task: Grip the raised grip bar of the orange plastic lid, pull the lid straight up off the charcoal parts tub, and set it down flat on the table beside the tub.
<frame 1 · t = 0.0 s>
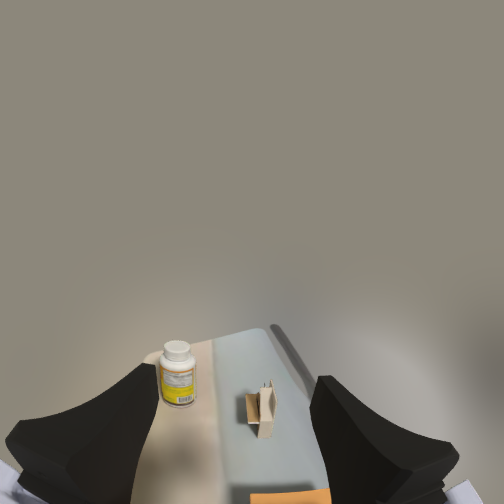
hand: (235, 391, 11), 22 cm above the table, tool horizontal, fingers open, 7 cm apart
supplement bottle: (179, 400, 39), on the table
architectural model: (261, 428, 35), on the table
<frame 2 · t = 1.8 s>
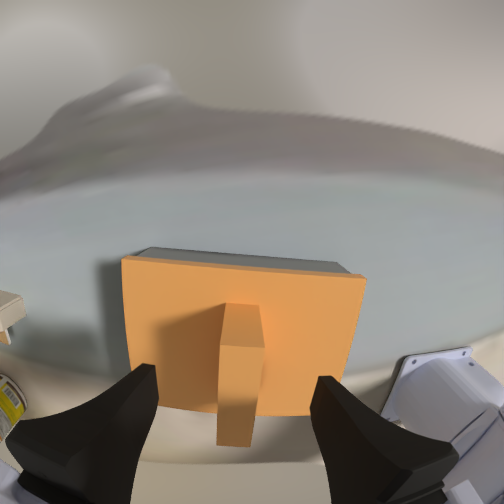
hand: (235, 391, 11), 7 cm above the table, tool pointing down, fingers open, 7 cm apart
tub: (238, 320, 18), on the table
supplement bottle: (13, 390, 20), on the table
lid: (238, 338, 16), point 2 cm above the table, touching tub
architectural model: (11, 299, 18), on the table
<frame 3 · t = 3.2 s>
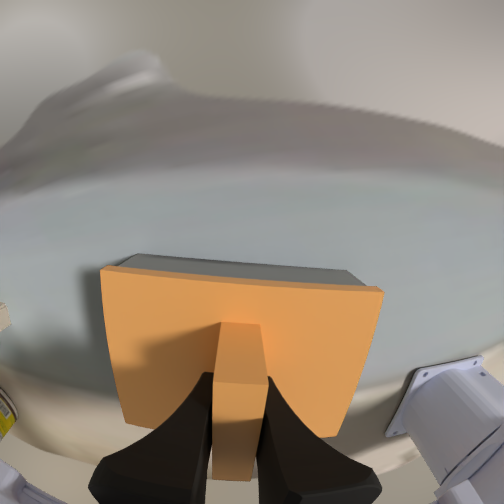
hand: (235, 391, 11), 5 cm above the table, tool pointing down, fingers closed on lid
tub: (237, 335, 16), on the table
supplement bottle: (4, 399, 18), on the table
lid: (236, 358, 14), point 2 cm above the table, touching gripper, tub
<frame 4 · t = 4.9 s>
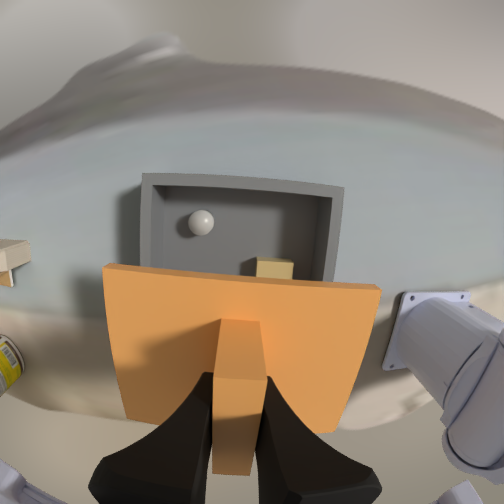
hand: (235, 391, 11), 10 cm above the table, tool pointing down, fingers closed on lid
tub: (238, 243, 20), on the table
supplement bottle: (12, 353, 21), on the table
lid: (236, 354, 14), point 7 cm above the table, touching gripper
architectural model: (17, 248, 19), on the table
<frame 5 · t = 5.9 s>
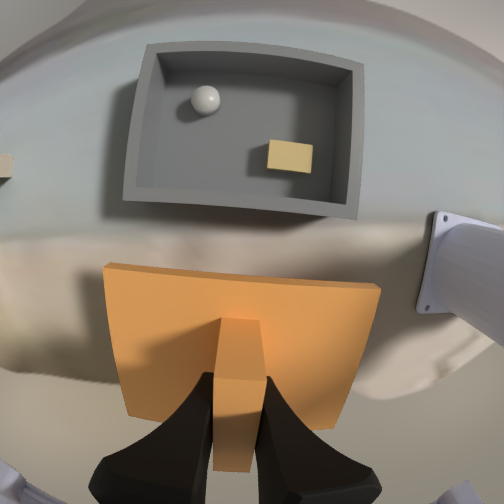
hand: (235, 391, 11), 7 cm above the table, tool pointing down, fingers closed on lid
tub: (246, 132, 16), on the table
lid: (236, 351, 14), point 4 cm above the table, touching gripper
architectural model: (0, 169, 16), on the table
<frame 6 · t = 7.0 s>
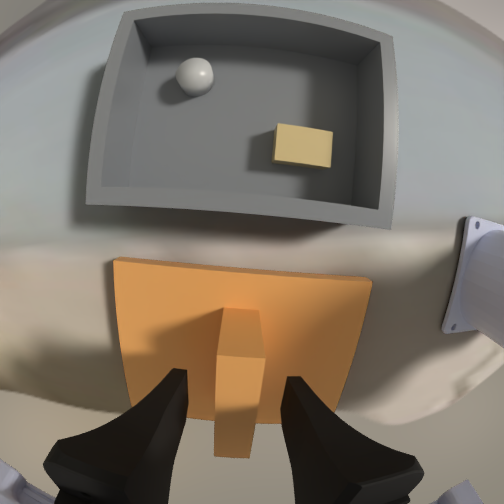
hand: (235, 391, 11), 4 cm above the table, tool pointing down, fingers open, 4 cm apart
tub: (247, 116, 12), on the table
lid: (237, 344, 15), on the table
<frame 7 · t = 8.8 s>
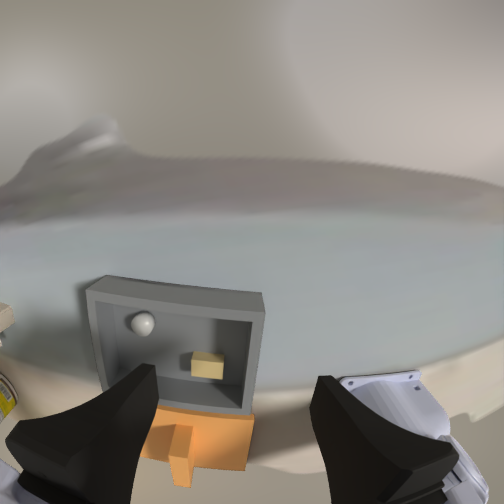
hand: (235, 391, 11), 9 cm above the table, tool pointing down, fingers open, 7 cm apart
tub: (178, 337, 21), on the table
supplement bottle: (6, 386, 22), on the table
lid: (188, 430, 23), on the table
architectural model: (2, 307, 20), on the table
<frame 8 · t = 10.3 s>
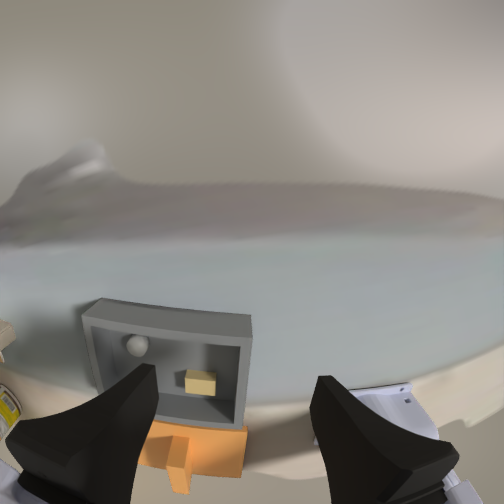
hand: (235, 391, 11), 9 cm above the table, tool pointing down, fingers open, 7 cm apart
tub: (172, 356, 21), on the table
supplement bottle: (10, 397, 23), on the table
lid: (185, 440, 24), on the table
architectural model: (3, 324, 21), on the table
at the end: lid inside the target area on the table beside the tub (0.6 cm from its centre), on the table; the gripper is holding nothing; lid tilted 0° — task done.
